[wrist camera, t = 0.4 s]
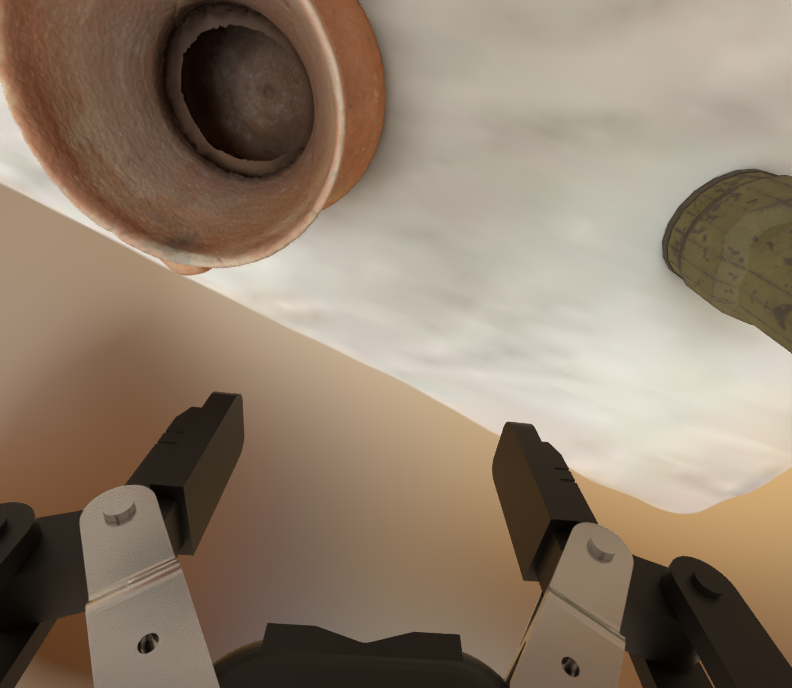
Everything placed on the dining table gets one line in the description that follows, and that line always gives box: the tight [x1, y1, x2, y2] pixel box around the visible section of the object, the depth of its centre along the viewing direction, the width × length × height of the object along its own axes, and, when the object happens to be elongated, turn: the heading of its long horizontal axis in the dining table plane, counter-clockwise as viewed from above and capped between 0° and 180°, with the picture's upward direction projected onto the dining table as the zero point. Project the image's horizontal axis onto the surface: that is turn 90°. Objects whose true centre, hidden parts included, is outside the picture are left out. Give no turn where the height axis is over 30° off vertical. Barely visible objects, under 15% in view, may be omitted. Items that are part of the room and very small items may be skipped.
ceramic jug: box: [0, 0, 385, 275], centre depth 21 cm, size 18×14×14 cm
